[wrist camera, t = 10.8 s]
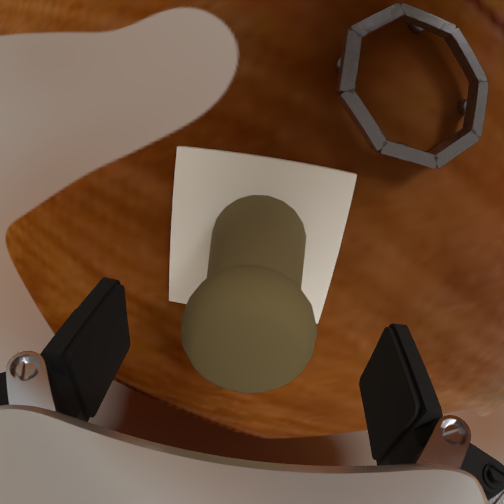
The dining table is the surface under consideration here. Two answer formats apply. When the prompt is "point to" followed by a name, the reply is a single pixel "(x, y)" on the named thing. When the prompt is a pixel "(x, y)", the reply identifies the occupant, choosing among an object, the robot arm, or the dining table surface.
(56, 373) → the robot arm
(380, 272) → the dining table surface
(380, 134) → the ring stand
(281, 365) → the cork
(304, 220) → the plate
